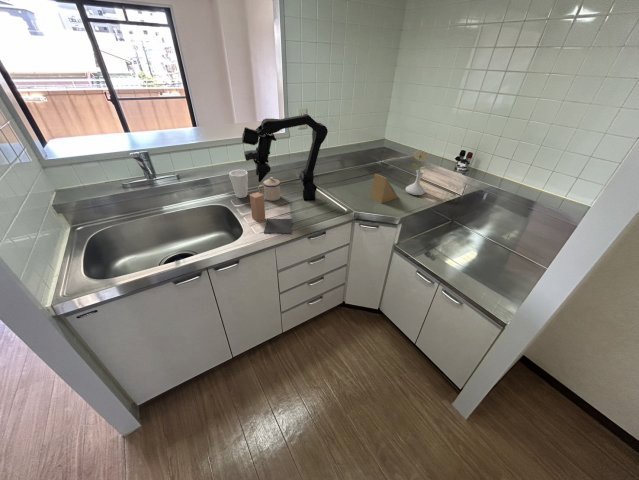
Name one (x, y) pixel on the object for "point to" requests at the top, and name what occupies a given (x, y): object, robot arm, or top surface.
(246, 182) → the foam cup
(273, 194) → the teacup with lid
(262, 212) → the terracotta block
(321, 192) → the top surface
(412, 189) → the flower in vase
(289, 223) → the black mat
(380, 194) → the sandwich container
